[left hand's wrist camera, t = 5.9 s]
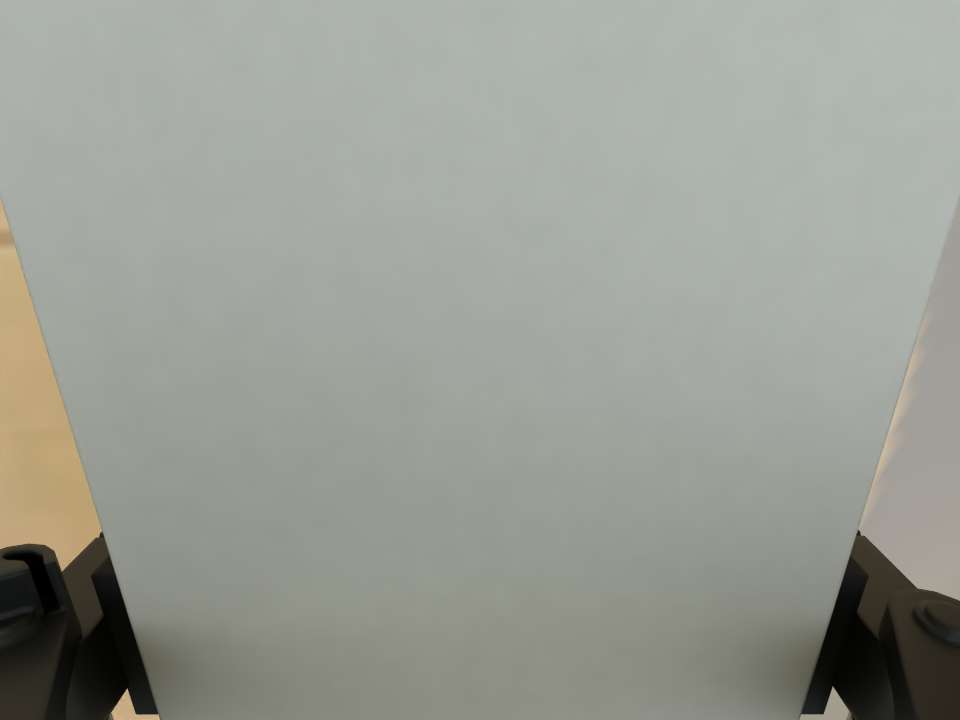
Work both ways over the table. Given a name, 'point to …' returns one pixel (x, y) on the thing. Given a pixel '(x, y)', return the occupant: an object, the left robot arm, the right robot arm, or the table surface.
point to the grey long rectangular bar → (480, 334)
